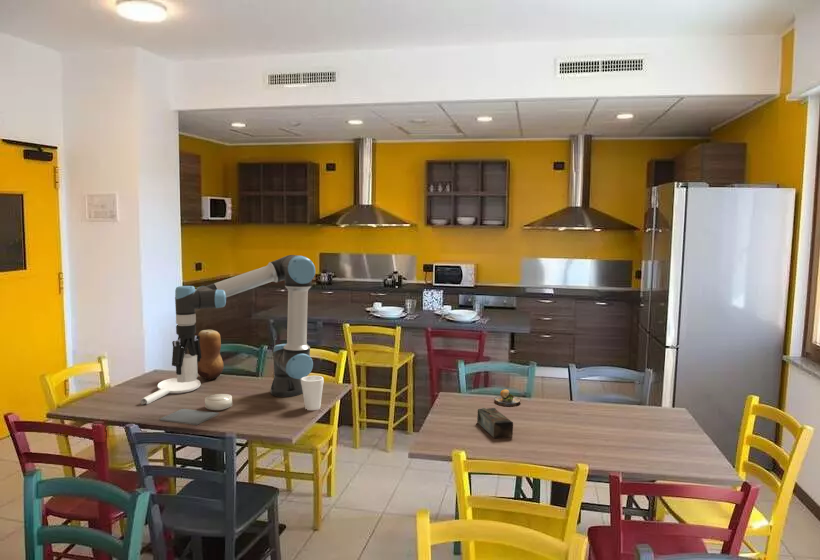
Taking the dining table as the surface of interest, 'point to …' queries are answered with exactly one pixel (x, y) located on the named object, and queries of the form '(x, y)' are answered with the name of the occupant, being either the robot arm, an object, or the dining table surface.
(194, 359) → the white cup
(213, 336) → the butternut squash
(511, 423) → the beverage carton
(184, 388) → the frying pan
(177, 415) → the mat
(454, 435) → the dining table surface
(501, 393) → the plate of food
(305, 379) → the foam cup
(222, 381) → the dining table surface
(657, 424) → the dining table surface
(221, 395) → the bowl
